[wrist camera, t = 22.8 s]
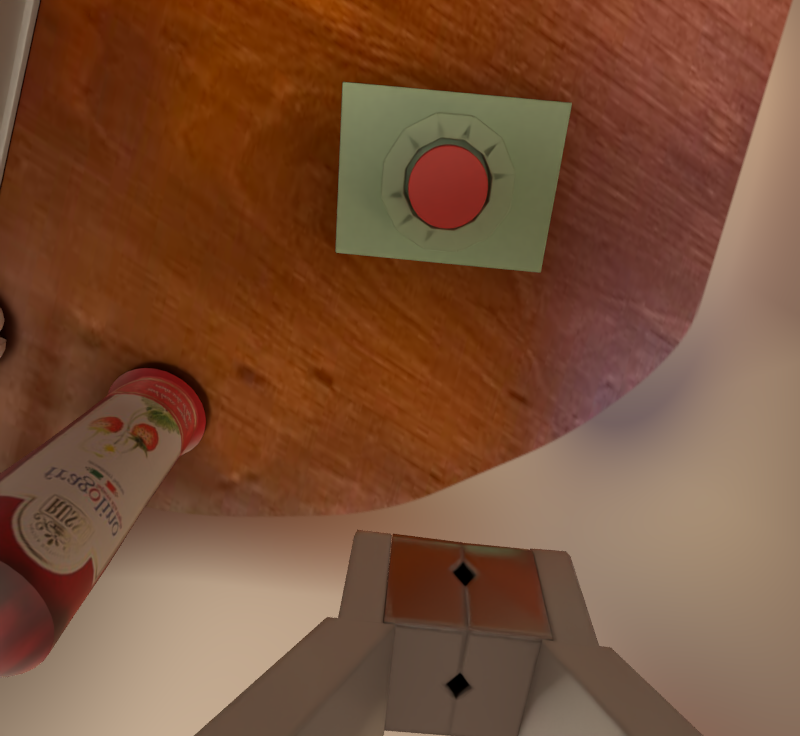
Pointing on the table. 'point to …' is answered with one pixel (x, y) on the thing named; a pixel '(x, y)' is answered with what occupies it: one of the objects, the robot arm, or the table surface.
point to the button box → (438, 125)
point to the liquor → (84, 505)
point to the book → (13, 62)
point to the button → (448, 186)
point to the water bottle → (1, 342)
